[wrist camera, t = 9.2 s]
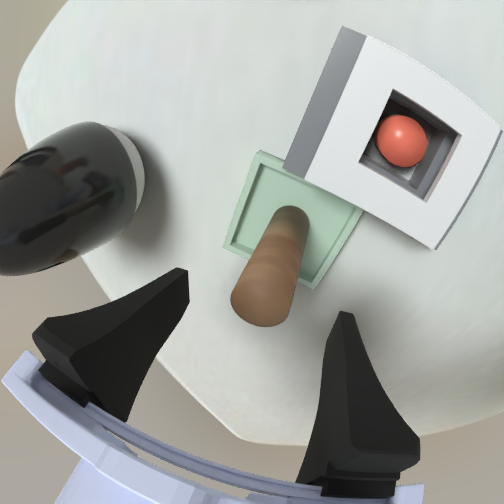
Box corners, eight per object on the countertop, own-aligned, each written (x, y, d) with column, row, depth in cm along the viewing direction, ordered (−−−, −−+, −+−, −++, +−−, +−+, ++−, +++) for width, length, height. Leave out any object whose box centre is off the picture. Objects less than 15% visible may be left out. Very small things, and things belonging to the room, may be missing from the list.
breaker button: (426, 130, 14) (434, 133, 12) (406, 170, 16) (413, 176, 14) (386, 105, 14) (391, 105, 13) (366, 146, 16) (369, 150, 14)
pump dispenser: (72, 141, 22) (-53, 202, 9) (140, 95, 18) (-41, 143, 6) (105, 227, 26) (0, 316, 14) (180, 206, 22) (42, 331, 10)
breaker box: (489, 127, 12) (518, 136, 9) (428, 237, 18) (444, 266, 14) (341, 33, 12) (342, 15, 9) (287, 161, 18) (275, 176, 15)
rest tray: (364, 199, 18) (366, 205, 17) (315, 281, 22) (314, 289, 21) (260, 150, 18) (255, 153, 17) (227, 240, 23) (222, 247, 22)
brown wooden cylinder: (317, 225, 19) (301, 311, 12) (289, 246, 21) (260, 333, 14) (291, 197, 19) (258, 270, 12) (264, 220, 20) (219, 298, 13)
